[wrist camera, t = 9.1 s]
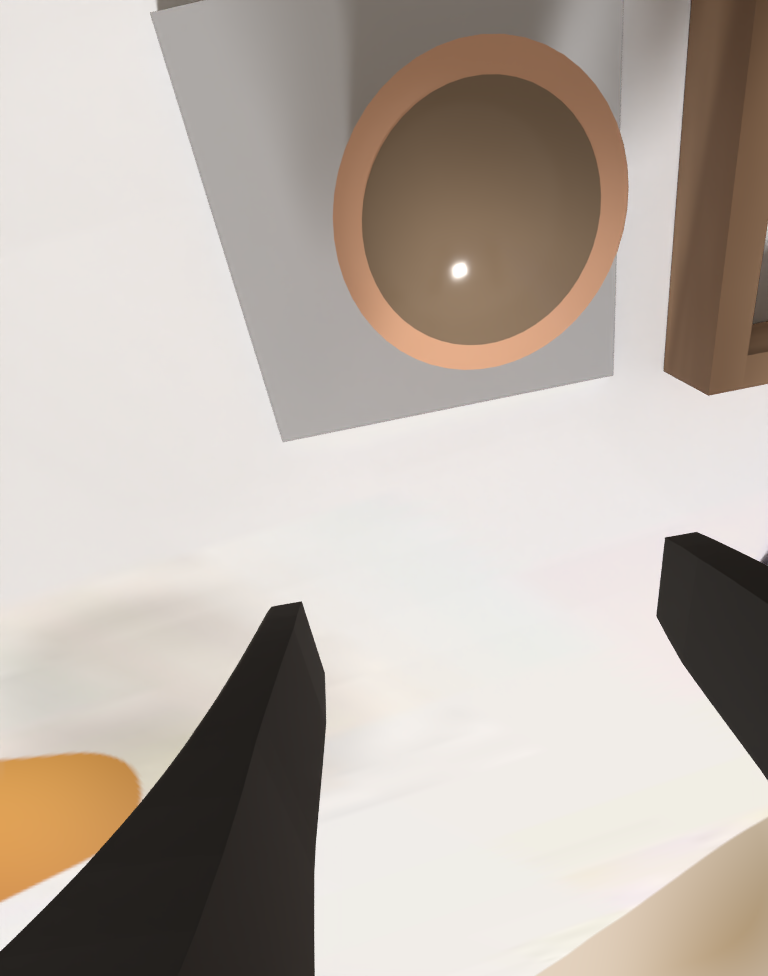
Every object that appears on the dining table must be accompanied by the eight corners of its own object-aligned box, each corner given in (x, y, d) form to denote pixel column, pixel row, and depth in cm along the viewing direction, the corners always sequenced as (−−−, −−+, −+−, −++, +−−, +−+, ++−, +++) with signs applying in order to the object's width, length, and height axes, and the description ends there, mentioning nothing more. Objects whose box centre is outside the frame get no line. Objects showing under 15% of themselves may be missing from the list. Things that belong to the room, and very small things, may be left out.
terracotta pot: (556, 141, 14) (688, 107, 9) (481, 333, 16) (548, 400, 11) (367, 63, 13) (384, -30, 8) (315, 281, 15) (301, 326, 10)
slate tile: (614, -84, 12) (626, -98, 12) (605, 370, 18) (613, 375, 17) (157, 20, 13) (149, 12, 12) (284, 435, 18) (282, 442, 17)
